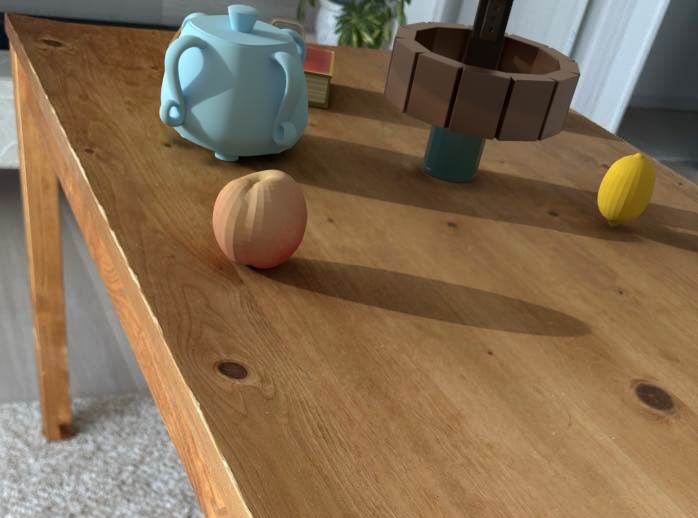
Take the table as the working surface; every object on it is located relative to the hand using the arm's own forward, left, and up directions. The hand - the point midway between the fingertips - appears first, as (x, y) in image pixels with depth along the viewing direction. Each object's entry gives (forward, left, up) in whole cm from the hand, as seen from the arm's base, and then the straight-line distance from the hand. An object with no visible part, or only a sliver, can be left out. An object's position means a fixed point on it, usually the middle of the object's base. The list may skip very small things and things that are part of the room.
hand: (476, 74), depth 79 cm
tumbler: (0, -19, -15) cm, 24 cm away
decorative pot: (+25, -13, -15) cm, 32 cm away
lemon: (-19, -13, -15) cm, 28 cm away
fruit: (+16, +15, -15) cm, 26 cm away
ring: (0, +7, -1) cm, 7 cm away
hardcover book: (+28, -37, -15) cm, 49 cm away
